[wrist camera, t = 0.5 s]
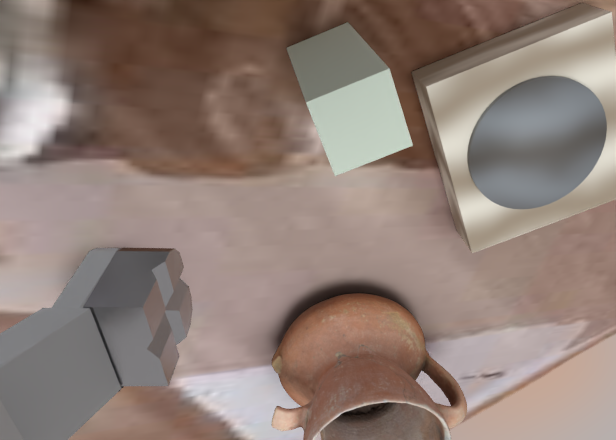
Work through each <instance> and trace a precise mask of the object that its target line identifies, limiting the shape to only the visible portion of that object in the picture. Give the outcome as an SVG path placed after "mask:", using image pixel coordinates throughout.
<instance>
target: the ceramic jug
mask: <svg viewBox="0 0 616 440" xmlns="http://www.w3.org/2000/svg"><path fill="white" fill-rule="evenodd" d="M272 367H273V368H274V370H275V371H276V373H278V375H279V378H280V381H281V384H282V386H283V387H284V389H285V391H286V392H287V393H288V395H289V396H290V397H291V398H292V399H293V400H294V401H295V402H296V403H298V404H299V405H300V406H302V407H299V408H294V409H285V408H282V407H280V406H277V407H276V409H275V412H274V415H273V418H272V427H273V428H276V429H278V430H280V431H287V430H292V429H296V428H298V427H302V428H303V429H304V439H303V440H315V438H316V437H317V435H318V434H319V433H321V440H451V434H450V428H453V427H455V426H457V425H458V424H459V423H461V422H462V420H463V419H464V418H465V416H466V413H467V403H466V400H465V397H464V394H463V392H462V390H461V388H460V386H459V384H458V383H457V382H456V380H455V379H454V378H453V377H452V376H451V374H449V373H448V372H447V371H446V370H445V369H444V368H443V367H442V366H441V365H439V364H438V363H437V362H436V361H435V360H433V359H432V358H431V357H430V356H429V354H428V352H427V351H426V348H425V340H424V335H423V332H422V329H421V327H420V326H419V324H418V322H417V321H416V319H415V318H414V317H413V315H412V314H411V313H410V312H409V311H408V310H406V309H405V308H404V307H402V306H401V305H399V304H398V303H396V302H394V301H392V300H390V299H387V298H384V297H381V296H377V295H372V294H364V293H355V294H345V295H340V296H336V297H333V298H330V299H327V300H324V301H322V302H319V303H317V304H315V305H313V306H311V307H310V308H308V309H307V310H306V311H304V312H303V313H302V314H301V315H300V316H299V317H297V318H296V320H295V321H294V322H293V323H292V324H291V326H290V327H289V328H288V330H287V332H286V334H285V336H284V337H283V340H282V342H281V344H280V345H279V347H278V349H277V351H276V353H275V354H274V356H273V358H272ZM421 370H422V371H424V373H426V374H427V375H429V377H430V378H431V379H432V380H433V381H434V382H435V383H436V384H437V385H438V386H439V388H441V390H442V391H443V392H444V394H445V396H446V397H447V398H448V400H449V402H450V404H451V406H444V405H441V404H437V403H435V402H433V400H432V399H431V398H430V396H429V395H428V394H427V393H426V391H425V390H424V389H423V388H422V387H421V386H420V385H419V384H418V383H417V382H416V381H415V380H416V379H417V377H418V376H419V374H420V372H421Z"/></svg>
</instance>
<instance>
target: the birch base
mask: <svg viewBox="0 0 616 440" xmlns="http://www.w3.org/2000/svg"><path fill="white" fill-rule="evenodd" d="M411 73H412V76H413V80H414V83H415V87H416V90H417V94H418V97H419V101H420V104H421V108H422V111H423V115H424V118H425V122H426V125H427V129H428V132H429V136H430V139H431V143H432V146H433V150H434V153H435V157H436V160H437V164H438V167H439V171H440V174H441V178H442V181H443V185H444V188H445V192H446V195H447V199H448V202H449V206H450V209H451V213H452V216H453V220H454V223H455V227H456V230H457V232H458V233H459V235H460V236H461V238H462V239H463V241H464V242H465V244H466V245H467V247H468V248H469V250H470V251H471V253H475V252H477V251H480V250H483V249H485V248H488V247H491V246H493V245H496V244H499V243H501V242H504V241H507V240H509V239H512V238H515V237H517V236H520V235H522V234H525V233H528V232H530V231H533V230H536V229H538V228H541V227H544V226H546V225H549V224H552V223H554V222H557V221H560V220H562V219H565V218H568V217H570V216H573V215H576V214H578V213H581V212H584V211H586V210H589V209H592V208H594V207H597V206H600V205H602V204H605V203H608V202H610V201H613V200H616V53H615V42H614V32H613V21H612V12H610V11H607V10H604V9H601V8H598V7H594V6H591V5H588V4H585V3H580V4H577V5H575V6H572V7H570V8H568V9H565V10H563V11H560V12H558V13H555V14H553V15H550V16H548V17H545V18H543V19H540V20H538V21H535V22H533V23H531V24H528V25H526V26H523V27H521V28H518V29H516V30H513V31H511V32H508V33H506V34H503V35H501V36H499V37H496V38H494V39H491V40H489V41H486V42H484V43H481V44H479V45H476V46H474V47H471V48H469V49H466V50H464V51H462V52H459V53H457V54H454V55H452V56H449V57H447V58H444V59H442V60H439V61H437V62H434V63H432V64H429V65H427V66H425V67H422V68H420V69H417V70H415V71H412V72H411Z"/></svg>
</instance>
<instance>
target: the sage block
mask: <svg viewBox="0 0 616 440" xmlns="http://www.w3.org/2000/svg"><path fill="white" fill-rule="evenodd" d="M286 49H287V52H288V54H289V57H290V60H291V63H292V65H293V68H294V71H295V74H296V76H297V79H298V82H299V85H300V87H301V90H302V93H303V96H304V98H305V101H306V104H307V106H308V109H309V111H310V114H311V116H312V119H313V122H314V124H315V127H316V129H317V132H318V134H319V137H320V139H321V142H322V144H323V147H324V149H325V152H326V154H327V157H328V159H329V162H330V165H331V167H332V170H333V172H334V175H335V176H337V175H339V174H342V173H344V172H347V171H349V170H352V169H354V168H357V167H359V166H362V165H364V164H367V163H370V162H372V161H375V160H377V159H380V158H382V157H385V156H387V155H390V154H392V153H395V152H397V151H400V150H402V149H405V148H408V147H410V146H413V144H412V141H411V138H410V134H409V131H408V128H407V125H406V121H405V118H404V115H403V111H402V108H401V105H400V102H399V98H398V95H397V92H396V88H395V85H394V82H393V79H392V75H391V72H390V69H389V67H388V66H387V65H386V64H385V63H384V62H383V61H382V60H381V59H380V57H379V56H378V55H377V54H376V53H375V52H374V51H373V50H372V48H371V47H370V46H369V45H368V44H367V43H366V42H365V41H364V40H363V38H362V37H361V36H360V35H359V34H358V33H357V32H356V31H355V30H354V28H353V27H352V26H351V25H350V24H349V23H348V22H347V23H345V24H342V25H340V26H338V27H335V28H333V29H330V30H328V31H326V32H323V33H321V34H318V35H316V36H313V37H311V38H309V39H306V40H304V41H301V42H299V43H297V44H294V45H292V46H289V47H287V48H286Z"/></svg>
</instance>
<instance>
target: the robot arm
mask: <svg viewBox="0 0 616 440" xmlns="http://www.w3.org/2000/svg"><path fill="white" fill-rule="evenodd" d="M183 268H184V266H183V263H182V259H181V256H180V253H179V252H178V251H177V250H176V249H166V248H95V249H93V250H91V251H89V253H88V254H87V256H86V257H85V258H84V260H83V261H82V263H81V264H80V266H79V267H78V269H77V270H76V272H75V273H74V275H73V276H72V278H71V279H70V281H69V282H68V284H67V285H66V287H65V288H64V290H63V291H62V293H61V294H60V296H59V297H58V299H57V300H56V302H55V303H54V305H53V306H52V308H42V309H41V310H39V311H37V312H36V313H34V314H32V315H31V316H29V317H27V318H26V319H24V320H22V321H21V322H19V323H17V324H16V325H14V326H12V327H11V328H9V329H7V330H6V331H4V332H2V333H1V334H0V440H68V439H69V438H70V437H71V436H72V435H73V434H74V433H75V432H76V431H77V430H78V429H79V428H80V427H82V426H83V425H84V424H85V423H86V422H87V421H88V420H89V419H90V418H91V417H92V416H93V415H94V414H95V413H96V412H97V411H98V410H99V409H100V408H102V407H103V406H104V405H105V404H106V403H107V402H108V401H109V400H110V399H111V398H112V397H113V396H114V395H115V394H116V393H117V392H118V391H119V390H120V389H121V386H169V383H170V380H171V378H172V375H173V372H174V369H175V367H176V364H177V361H178V359H179V353H178V350H177V346H176V345H177V344H178V343H180V342H181V341H182V340H183V339H185V338H186V337H187V334H188V331H189V328H190V325H191V316H192V299H191V293H190V289H189V286H188V285H187V284H186V283H185V282H183V281H182V280H181V279H180V275H181V273H182V270H183Z"/></svg>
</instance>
